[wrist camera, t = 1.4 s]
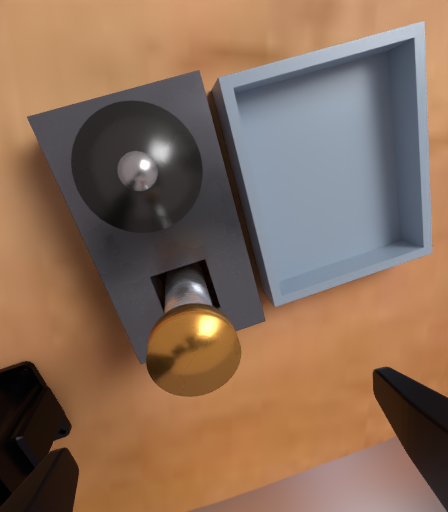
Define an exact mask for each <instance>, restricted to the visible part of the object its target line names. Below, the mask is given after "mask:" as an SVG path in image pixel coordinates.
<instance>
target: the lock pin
mask: <svg viewBox="0 0 448 512" xmlns="http://www.w3.org/2000/svg"><path fill="white" fill-rule="evenodd" d="M240 358H241V346H240V342H239V339H238V337H237V334H236V332H235V329H234V327H233V324H232V322H231V321H230V319H229V318H228V317H227V315H226V314H224V313H223V312H222V311H221V310H219V309H217V308H215V307H213V306H212V303H211V299H210V296H209V293H208V289H207V286H206V283H205V279H204V276H203V273H202V269H201V267H200V265H199V264H198V262H194V263H191V264H188V265H185V266H182V267H179V268H176V269H173V270H170V271H167V272H166V286H165V312H164V314H163V315H162V316H161V317H160V318H159V319H158V320H157V321H156V323H155V324H154V326H153V327H152V329H151V332H150V335H149V339H148V347H147V356H146V364H147V369H148V372H149V374H150V376H151V378H152V379H153V381H154V382H155V383H156V384H157V385H158V386H159V387H160V388H162V389H163V390H165V391H167V392H169V393H172V394H175V395H179V396H189V397H191V396H200V395H204V394H207V393H210V392H212V391H214V390H216V389H218V388H220V387H221V386H223V385H224V384H225V383H226V382H227V381H228V380H229V379H230V378H231V377H232V376H233V374H234V373H235V371H236V370H237V368H238V365H239V362H240Z"/></svg>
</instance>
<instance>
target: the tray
mask: <svg viewBox="0 0 448 512" xmlns="http://www.w3.org/2000/svg"><path fill="white" fill-rule="evenodd" d="M212 93H213V97H214V101H215V105H216V109H217V113H218V117H219V121H220V124H221V128H222V132H223V136H224V140H225V144H226V148H227V152H228V156H229V160H230V163H231V167H232V171H233V175H234V179H235V183H236V187H237V191H238V195H239V198H240V202H241V206H242V210H243V214H244V218H245V222H246V226H247V230H248V233H249V237H250V241H251V245H252V249H253V253H254V257H255V261H256V265H257V269H258V272H259V276H260V280H261V284H262V288H263V291H264V293H265V294H266V296H267V297H268V298H269V300H270V301H271V302H272V304H273V305H274V306H275V307H277V306H280V305H283V304H286V303H289V302H292V301H294V300H297V299H300V298H303V297H306V296H309V295H312V294H315V293H318V292H321V291H324V290H326V289H329V288H332V287H335V286H338V285H341V284H344V283H347V282H350V281H353V280H356V279H358V278H361V277H364V276H367V275H370V274H373V273H376V272H379V271H382V270H385V269H387V268H390V267H393V266H396V265H399V264H402V263H405V262H408V261H411V260H414V259H417V258H419V257H422V256H425V255H428V254H431V253H432V230H431V201H430V172H429V143H428V114H427V85H426V56H425V27H424V21H423V22H419V23H415V24H412V25H408V26H405V27H401V28H397V29H394V30H390V31H386V32H383V33H379V34H375V35H372V36H368V37H364V38H361V39H357V40H354V41H350V42H346V43H343V44H339V45H335V46H332V47H328V48H324V49H321V50H317V51H313V52H310V53H306V54H303V55H299V56H295V57H292V58H288V59H284V60H281V61H277V62H273V63H270V64H266V65H262V66H259V67H255V68H252V69H248V70H244V71H241V72H237V73H233V74H230V75H226V76H222V77H219V78H218V79H217V81H216V83H215V85H214V86H213V88H212Z"/></svg>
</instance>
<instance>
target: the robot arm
mask: <svg viewBox="0 0 448 512" xmlns="http://www.w3.org/2000/svg"><path fill="white" fill-rule="evenodd" d="M23 368H25V369H27V370H28V371H25V370H24V369H23ZM373 391H374V395H375V398H376V400H377V401H378V403H379V405H380V407H381V408H382V410H383V412H384V414H385V416H386V417H387V419H388V421H389V423H390V424H391V426H392V428H393V430H394V431H395V433H396V435H397V437H398V438H399V440H400V442H401V444H402V445H403V447H404V449H405V451H406V452H407V454H408V455H409V457H410V458H411V460H412V461H413V463H414V464H415V466H416V467H417V469H418V470H419V472H420V473H421V474H422V476H423V477H424V479H425V480H426V482H427V483H428V485H429V486H430V488H431V489H432V490H433V492H434V493H435V495H436V496H437V498H438V499H439V501H440V502H441V503H442V505H443V506H444V508H445V509H446V511H447V512H448V398H447V397H446V396H444V395H442V394H440V393H438V392H436V391H434V390H432V389H430V388H428V387H426V386H424V385H423V384H421V383H419V382H417V381H415V380H413V379H411V378H409V377H407V376H405V375H403V374H401V373H400V372H398V371H396V370H394V369H392V368H390V367H382V368H378V369H375V370H374V371H373ZM71 427H72V426H71V424H70V422H69V420H68V419H67V417H66V415H65V412H64V410H63V409H62V407H61V406H60V404H59V402H58V401H57V399H56V397H55V396H54V394H53V393H52V391H51V389H50V388H49V387H48V386H47V385H46V383H45V381H44V380H43V378H42V376H41V375H40V373H39V372H38V370H37V368H36V367H35V365H34V364H33V363H31V362H28V361H25V362H21V363H18V364H15V365H12V366H9V367H6V368H3V369H0V512H73V506H74V500H75V494H76V488H77V482H78V476H79V468H78V465H77V463H76V461H75V460H74V458H73V456H72V455H71V453H70V451H69V450H68V449H67V448H60V449H56V450H53V451H51V452H50V453H49V451H50V448H51V446H52V443H53V441H54V440H57V439H60V438H63V437H66V436H67V435H68V434H69V433H70V430H71ZM63 429H65V430H63Z"/></svg>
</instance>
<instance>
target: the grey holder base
mask: <svg viewBox="0 0 448 512" xmlns="http://www.w3.org/2000/svg"><path fill="white" fill-rule="evenodd" d="M27 118H28V121H29V123H30V125H31V127H32V129H33V131H34V134H35V136H36V138H37V140H38V142H39V144H40V147H41V149H42V151H43V153H44V155H45V157H46V160H47V162H48V164H49V166H50V168H51V170H52V173H53V175H54V177H55V179H56V181H57V183H58V186H59V188H60V190H61V192H62V194H63V196H64V199H65V201H66V203H67V205H68V207H69V209H70V212H71V214H72V216H73V218H74V220H75V222H76V225H77V227H78V229H79V231H80V233H81V235H82V238H83V240H84V242H85V244H86V246H87V249H88V251H89V253H90V255H91V257H92V259H93V262H94V264H95V266H96V268H97V270H98V272H99V275H100V277H101V279H102V281H103V283H104V285H105V288H106V290H107V292H108V294H109V296H110V298H111V301H112V303H113V305H114V307H115V309H116V311H117V314H118V316H119V318H120V320H121V322H122V324H123V327H124V329H125V331H126V333H127V335H128V337H129V340H130V342H131V344H132V346H133V348H134V350H135V353H136V355H137V357H138V359H139V361H140V364H143V363H146V356H147V347H148V339H149V335H150V332H151V329H152V327H153V326H154V324H155V323H156V321H157V320H158V319H159V318H160V317H161V316H162V315H163V314H164V312H165V291H164V288H163V285H162V283H161V280H160V278H159V275H158V274H160V273H164V272H167V271H170V270H173V269H176V268H179V267H182V266H185V265H188V264H191V263H194V262H197V261H201V260H204V259H205V262H206V265H207V268H208V271H209V275H210V278H211V281H212V284H213V287H214V288H211V289H208V293H209V296H210V299H211V303H212V306H213V307H215V308H217V309H219V310H221V311H222V312H223V313H224V314H226V315H227V317H228V318H229V319H230V321H231V322H232V324H233V327H234V329H235V331H238V330H241V329H244V328H247V327H250V326H252V325H255V324H258V323H261V322H264V321H265V317H264V313H263V309H262V306H261V302H260V298H259V294H258V290H257V287H256V283H255V279H254V275H253V271H252V268H251V264H250V260H249V256H248V253H247V249H246V245H245V241H244V237H243V234H242V230H241V226H240V222H239V218H238V215H237V211H236V207H235V203H234V200H233V196H232V192H231V188H230V184H229V181H228V177H227V173H226V169H225V165H224V162H223V158H222V154H221V150H220V147H219V143H218V139H217V135H216V131H215V128H214V124H213V120H212V116H211V112H210V109H209V105H208V101H207V97H206V94H205V90H204V86H203V82H202V78H201V75H200V71H199V70H198V71H194V72H191V73H187V74H183V75H179V76H176V77H172V78H168V79H165V80H161V81H157V82H154V83H150V84H146V85H143V86H139V87H135V88H132V89H128V90H124V91H120V92H117V93H113V94H109V95H106V96H102V97H98V98H95V99H91V100H87V101H84V102H80V103H76V104H72V105H69V106H65V107H61V108H58V109H54V110H50V111H47V112H43V113H39V114H36V115H32V116H28V117H27Z"/></svg>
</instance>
